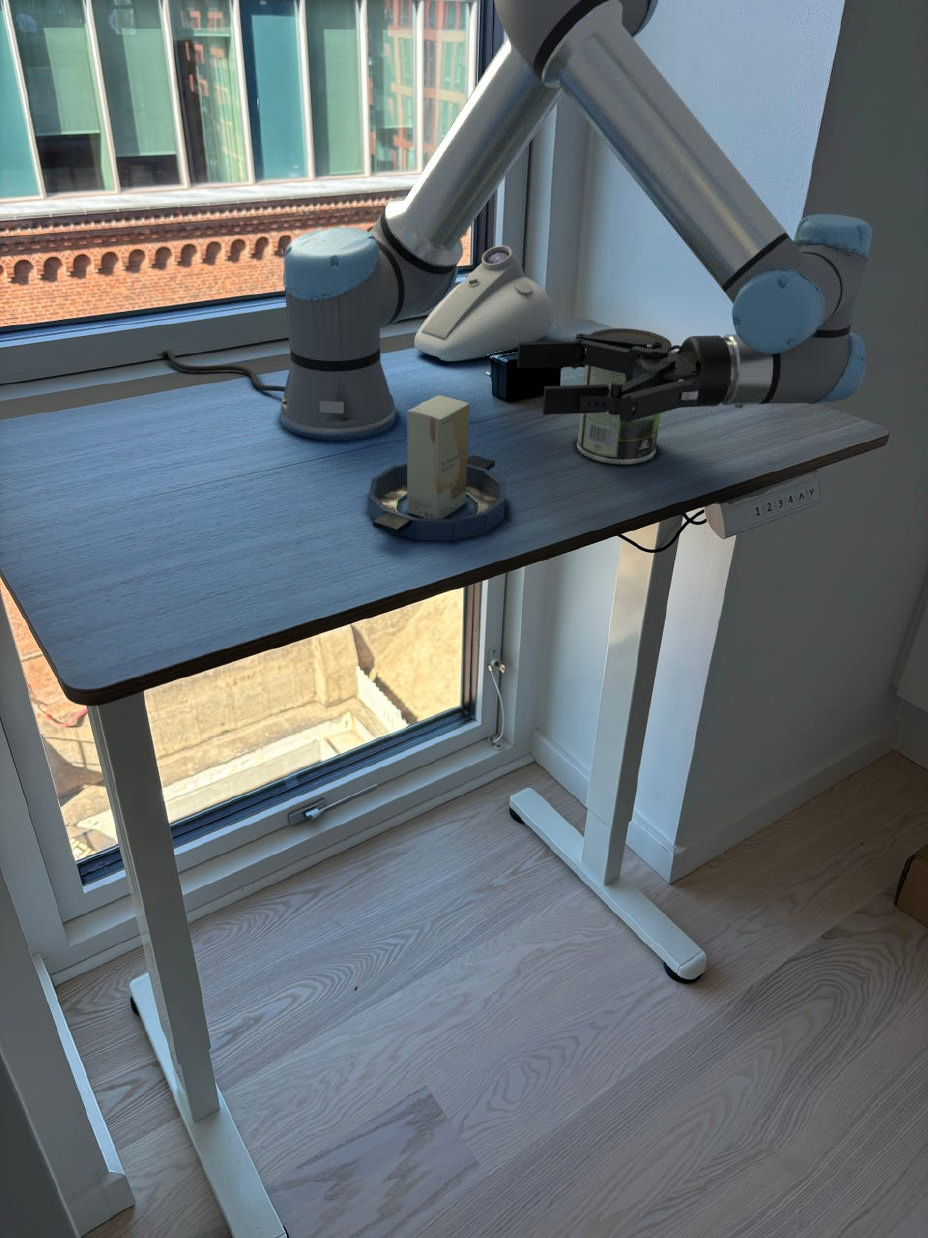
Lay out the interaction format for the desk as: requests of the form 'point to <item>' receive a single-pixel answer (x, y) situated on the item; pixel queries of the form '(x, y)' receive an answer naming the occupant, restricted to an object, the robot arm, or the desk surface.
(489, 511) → the handled polygonal ring
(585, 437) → the coffee can
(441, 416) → the cosmetic box
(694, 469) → the desk surface
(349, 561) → the desk surface
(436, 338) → the projector
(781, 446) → the desk surface
